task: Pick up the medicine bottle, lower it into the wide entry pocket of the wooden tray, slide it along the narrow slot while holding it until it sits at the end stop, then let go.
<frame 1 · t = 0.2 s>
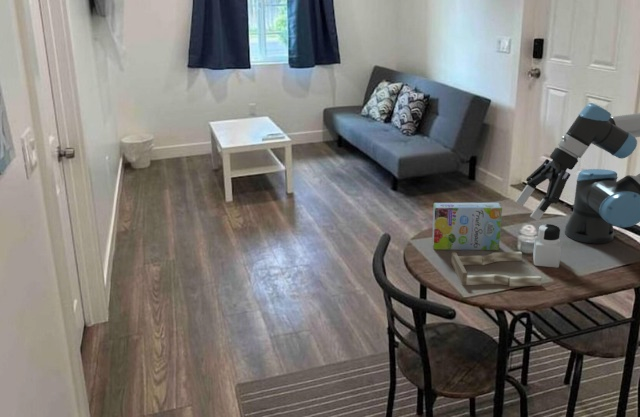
hand: (526, 211, 176), 15 cm above the table, tool tilted 30°, fingers open, 13 cm apart
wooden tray: (490, 272, 171), on the table
snack box: (464, 247, 189), on the table
medicine bottle: (545, 262, 177), on the table
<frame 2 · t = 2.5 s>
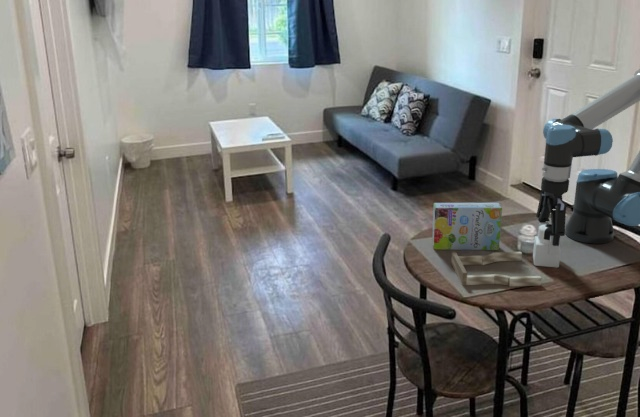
hand: (547, 247, 175), 5 cm above the table, tool pointing down, fingers closed on medicine bottle, 8 cm apart
medicine bottle: (545, 262, 177), on the table, touching gripper
everything else where it was.
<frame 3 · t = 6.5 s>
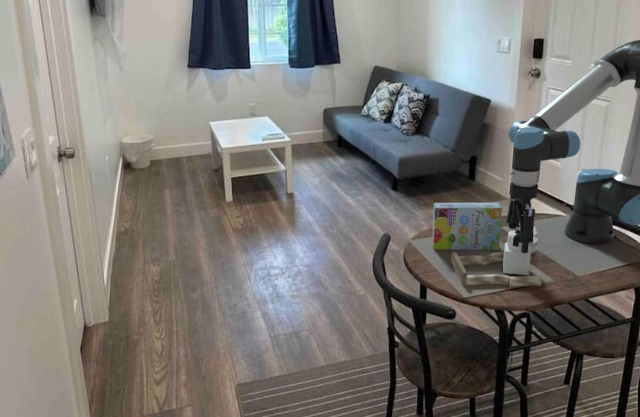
hand: (517, 254, 169), 6 cm above the table, tool pointing down, fingers closed on medicine bottle, 8 cm apart
medicine bottle: (515, 269, 171), point 1 cm above the table, touching gripper
everything else where it was.
when the fingers open (6 cm above the table, at t = 10.5 s): medicine bottle stays where it is, resting in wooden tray.
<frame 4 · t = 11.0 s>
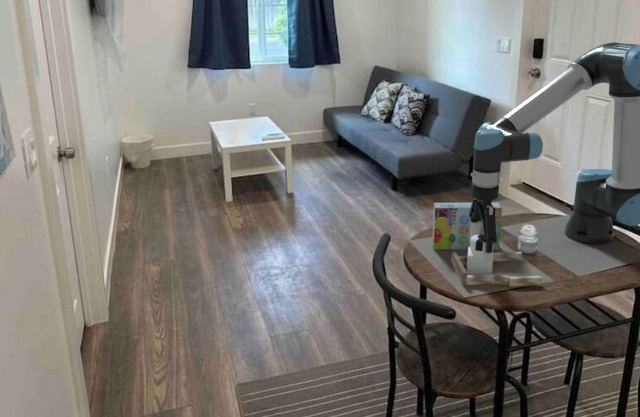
hand: (480, 251, 168), 7 cm above the table, tool pointing down, fingers open, 13 cm apart
medicine bottle: (478, 273, 171), resting in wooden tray
everything else where it was.
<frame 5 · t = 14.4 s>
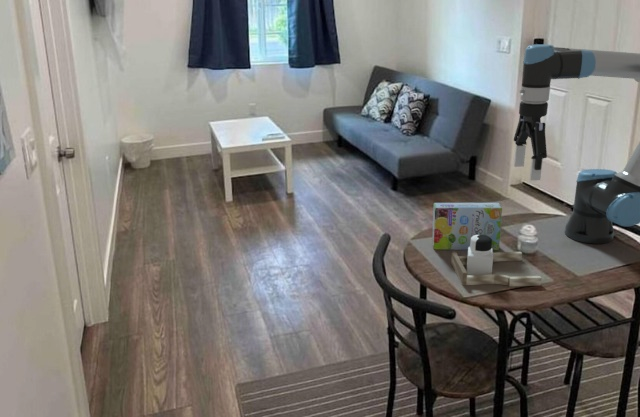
hand: (526, 173, 168), 29 cm above the table, tool pointing down, fingers open, 13 cm apart
nothing on the table moved.
at the end: medicine bottle inside the target area (0.8 cm from its centre), resting in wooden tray; medicine bottle tilted 0°; the gripper is holding nothing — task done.
